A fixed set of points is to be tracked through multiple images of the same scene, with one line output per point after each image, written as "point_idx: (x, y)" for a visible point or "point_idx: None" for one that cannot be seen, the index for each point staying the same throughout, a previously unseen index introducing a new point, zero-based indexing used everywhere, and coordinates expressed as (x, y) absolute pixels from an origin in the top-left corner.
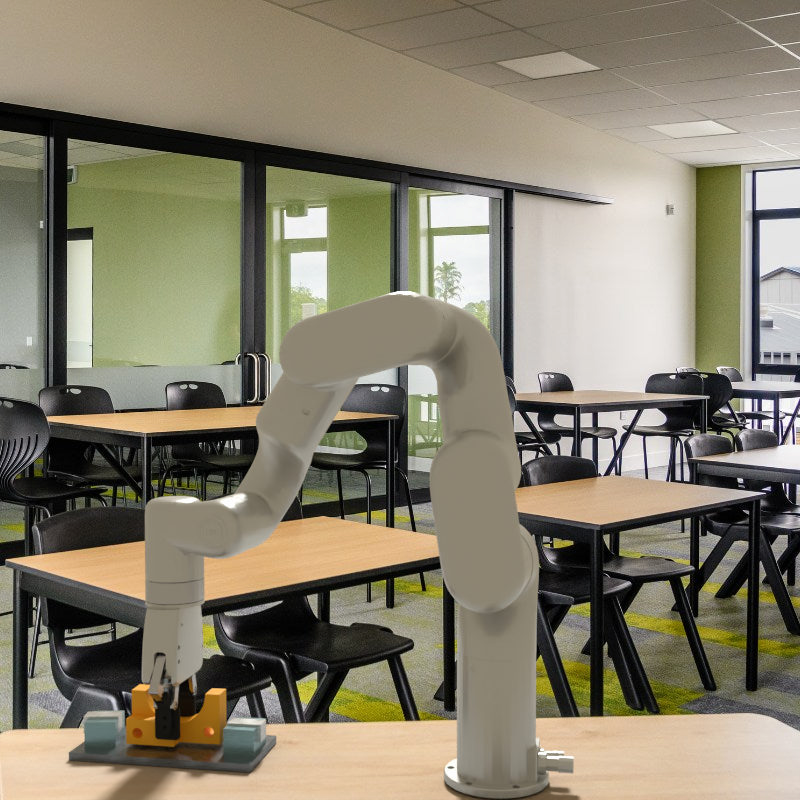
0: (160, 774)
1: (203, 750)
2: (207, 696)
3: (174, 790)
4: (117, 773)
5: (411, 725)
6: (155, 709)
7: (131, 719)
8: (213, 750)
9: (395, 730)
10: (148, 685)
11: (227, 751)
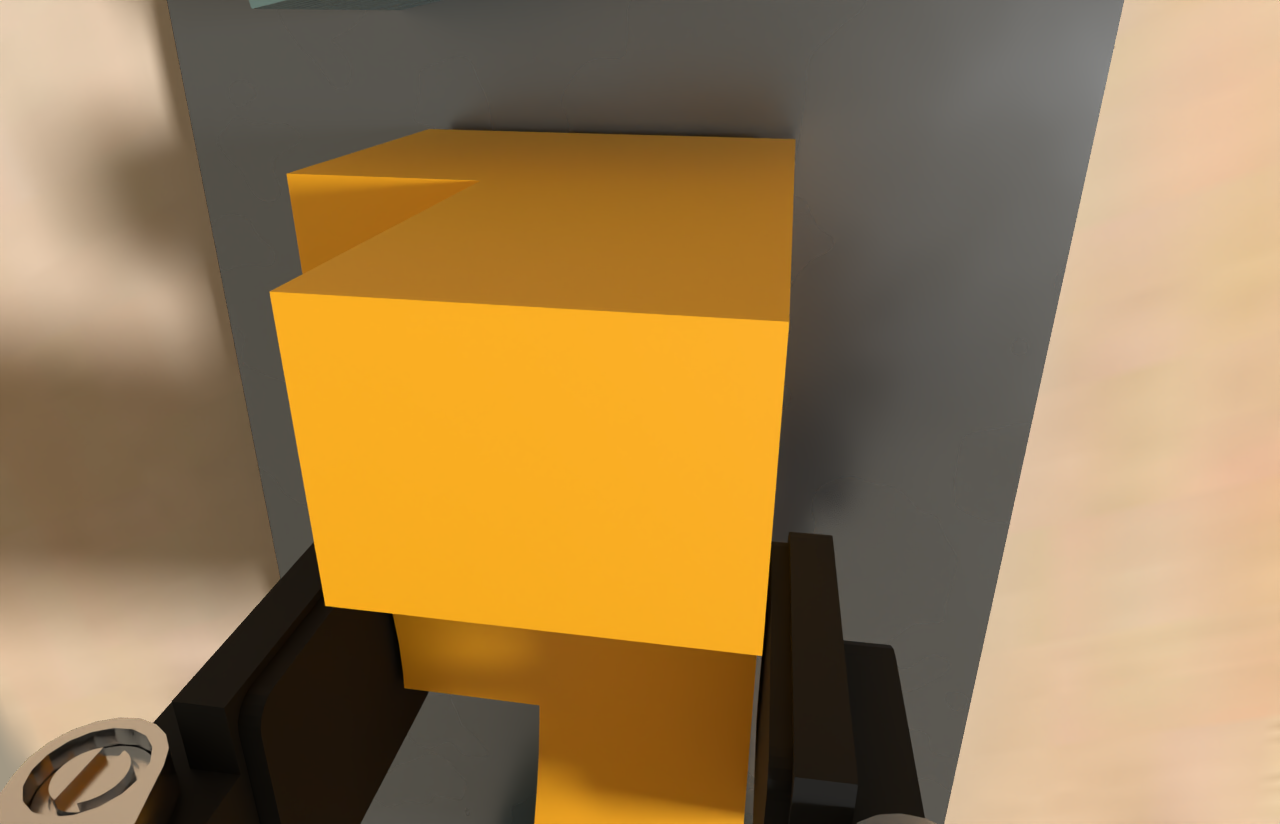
0: (182, 528)
1: (515, 749)
2: None
3: (12, 664)
4: (70, 227)
5: None
6: (184, 692)
7: (303, 254)
8: (531, 804)
9: None
10: (690, 567)
11: None
